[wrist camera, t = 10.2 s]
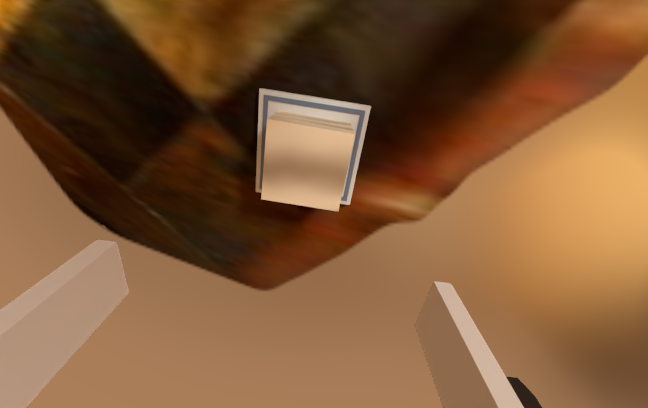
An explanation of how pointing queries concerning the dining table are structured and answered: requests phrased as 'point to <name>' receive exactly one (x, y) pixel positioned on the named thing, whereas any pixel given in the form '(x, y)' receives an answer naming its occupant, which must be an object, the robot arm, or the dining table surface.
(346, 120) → the board
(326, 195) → the birch block
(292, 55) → the dining table surface
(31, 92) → the dining table surface
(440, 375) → the robot arm
